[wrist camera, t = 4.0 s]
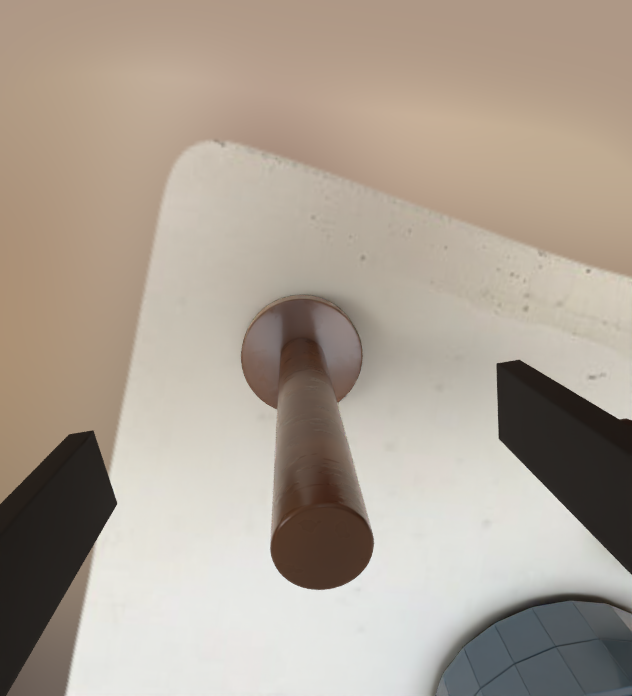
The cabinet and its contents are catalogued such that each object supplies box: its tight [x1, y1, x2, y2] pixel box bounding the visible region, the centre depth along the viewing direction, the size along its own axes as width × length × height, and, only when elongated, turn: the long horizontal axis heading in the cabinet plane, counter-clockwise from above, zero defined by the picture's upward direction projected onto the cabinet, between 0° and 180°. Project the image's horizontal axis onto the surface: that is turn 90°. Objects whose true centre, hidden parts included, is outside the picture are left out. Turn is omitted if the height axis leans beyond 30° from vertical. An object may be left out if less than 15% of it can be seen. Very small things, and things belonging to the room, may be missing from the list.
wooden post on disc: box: [241, 295, 374, 590], centre depth 16 cm, size 6×6×14 cm
